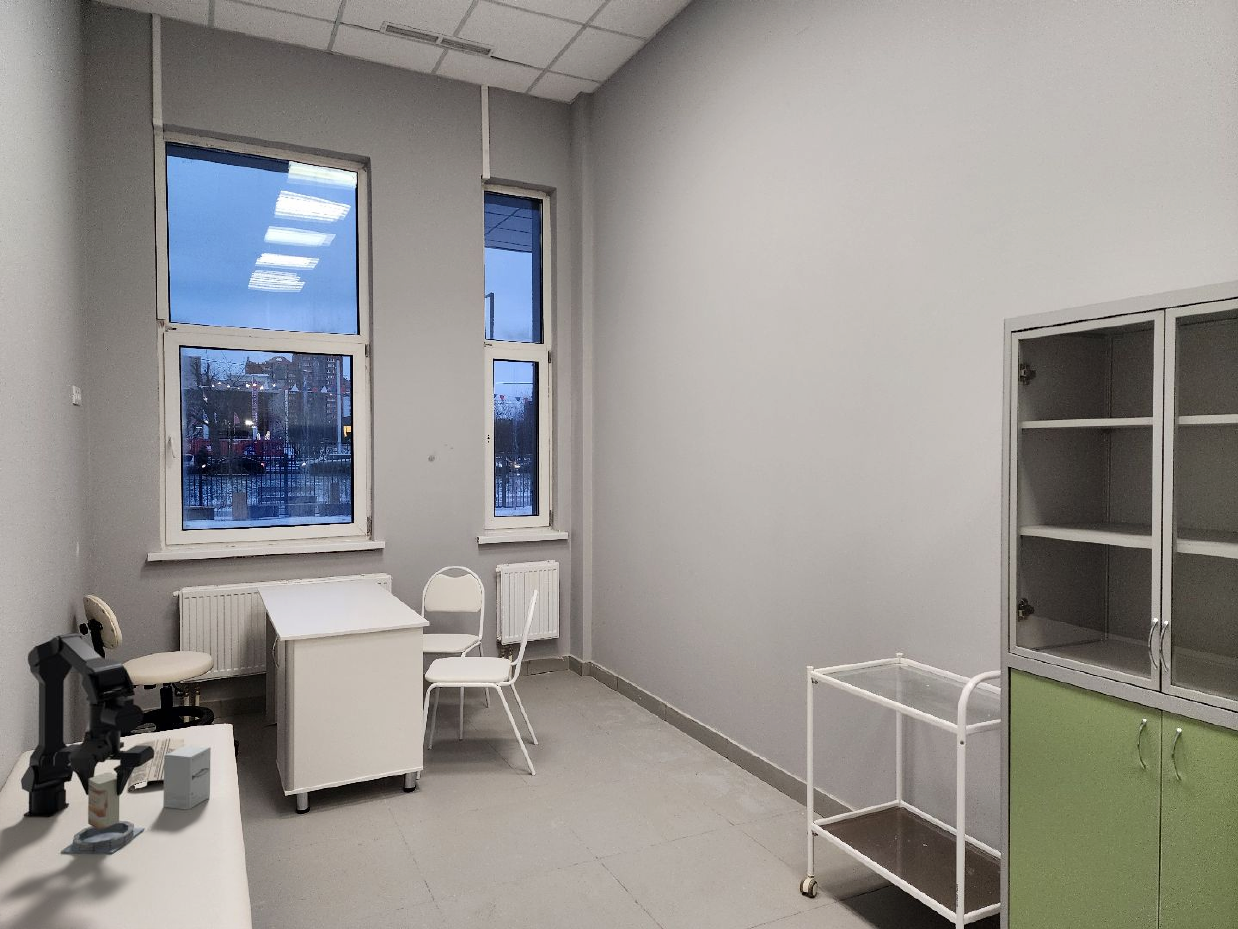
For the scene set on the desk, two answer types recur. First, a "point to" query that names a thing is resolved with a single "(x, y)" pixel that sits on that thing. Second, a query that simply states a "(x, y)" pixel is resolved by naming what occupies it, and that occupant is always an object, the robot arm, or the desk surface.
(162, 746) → the newspaper
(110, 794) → the skincare box
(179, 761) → the supplement box
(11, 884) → the desk surface
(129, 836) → the collar
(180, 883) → the desk surface
